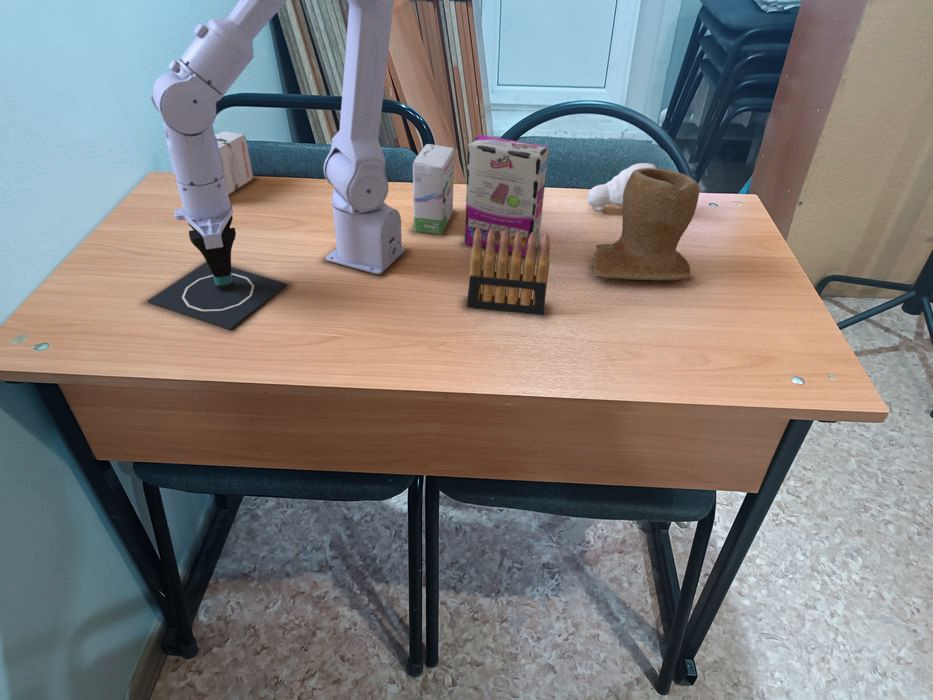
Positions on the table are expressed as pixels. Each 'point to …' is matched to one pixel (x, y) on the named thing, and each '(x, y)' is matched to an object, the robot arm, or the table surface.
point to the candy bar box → (505, 189)
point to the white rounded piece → (613, 188)
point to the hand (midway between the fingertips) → (221, 269)
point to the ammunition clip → (508, 275)
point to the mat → (217, 296)
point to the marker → (224, 283)
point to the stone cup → (650, 228)
